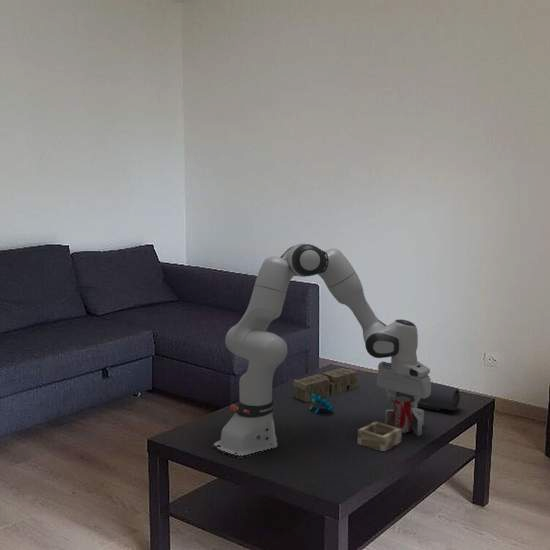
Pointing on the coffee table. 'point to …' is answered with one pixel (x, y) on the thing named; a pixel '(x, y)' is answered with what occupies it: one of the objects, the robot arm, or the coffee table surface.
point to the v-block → (416, 419)
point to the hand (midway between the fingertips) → (402, 404)
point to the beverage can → (402, 414)
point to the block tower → (326, 384)
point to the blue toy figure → (320, 403)
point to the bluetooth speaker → (438, 397)
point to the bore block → (379, 436)
